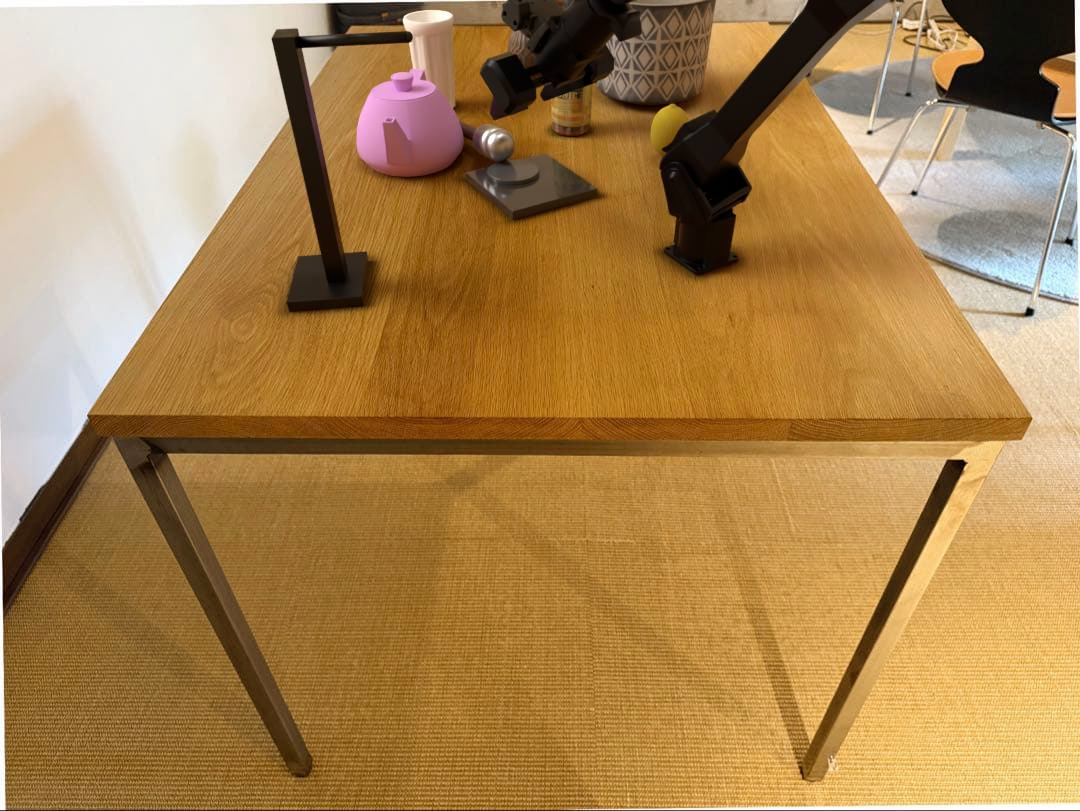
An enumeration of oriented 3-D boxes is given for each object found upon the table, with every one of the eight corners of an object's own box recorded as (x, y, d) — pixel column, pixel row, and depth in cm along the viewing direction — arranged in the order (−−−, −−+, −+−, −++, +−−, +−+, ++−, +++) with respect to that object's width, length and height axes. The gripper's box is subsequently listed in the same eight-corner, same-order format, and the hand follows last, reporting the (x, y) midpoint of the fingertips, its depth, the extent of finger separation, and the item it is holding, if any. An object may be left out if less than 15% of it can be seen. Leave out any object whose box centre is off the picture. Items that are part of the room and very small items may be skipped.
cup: (404, 106, 130) (393, 15, 120) (445, 96, 133) (436, 7, 124) (429, 120, 125) (419, 26, 115) (470, 108, 128) (463, 17, 119)
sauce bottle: (544, 134, 119) (543, -7, 106) (562, 121, 124) (562, -16, 111) (582, 141, 117) (585, -2, 104) (598, 127, 121) (603, -12, 108)
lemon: (685, 168, 109) (691, 112, 103) (646, 165, 110) (651, 109, 104) (687, 153, 113) (693, 98, 108) (650, 150, 114) (654, 96, 108)
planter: (708, 81, 137) (721, -21, 127) (698, 118, 123) (712, 7, 113) (604, 74, 141) (608, -26, 130) (583, 110, 127) (585, 1, 116)
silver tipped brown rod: (524, 135, 105) (447, 106, 124) (497, 128, 102) (423, 99, 121) (516, 167, 106) (441, 133, 125) (489, 161, 104) (417, 127, 123)
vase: (503, 67, 145) (500, 17, 140) (535, 62, 148) (534, 12, 142) (517, 77, 141) (515, 26, 135) (550, 71, 143) (550, 21, 137)
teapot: (378, 130, 121) (365, 51, 114) (474, 131, 121) (468, 51, 113) (341, 190, 105) (324, 101, 97) (453, 192, 104) (444, 102, 96)
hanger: (440, 254, 91) (412, 13, 74) (441, 300, 83) (411, 42, 66) (300, 265, 90) (238, 21, 72) (288, 311, 82) (217, 51, 65)
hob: (597, 196, 102) (598, 183, 101) (512, 220, 97) (512, 207, 96) (545, 160, 111) (545, 148, 110) (465, 180, 107) (464, 168, 106)
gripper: (599, -48, 90) (534, 36, 103) (485, -20, 80) (429, 69, 93) (648, 36, 91) (577, 108, 104) (541, 73, 80) (478, 149, 94)
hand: (518, 107), depth 98 cm, fingers open, 9 cm apart
